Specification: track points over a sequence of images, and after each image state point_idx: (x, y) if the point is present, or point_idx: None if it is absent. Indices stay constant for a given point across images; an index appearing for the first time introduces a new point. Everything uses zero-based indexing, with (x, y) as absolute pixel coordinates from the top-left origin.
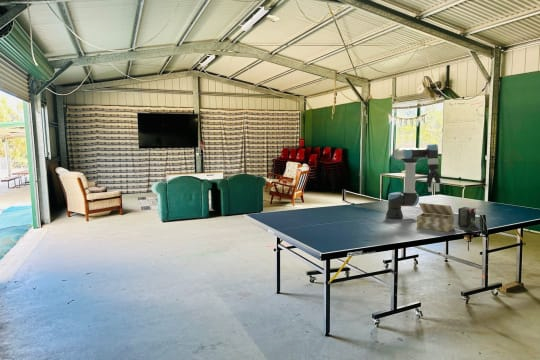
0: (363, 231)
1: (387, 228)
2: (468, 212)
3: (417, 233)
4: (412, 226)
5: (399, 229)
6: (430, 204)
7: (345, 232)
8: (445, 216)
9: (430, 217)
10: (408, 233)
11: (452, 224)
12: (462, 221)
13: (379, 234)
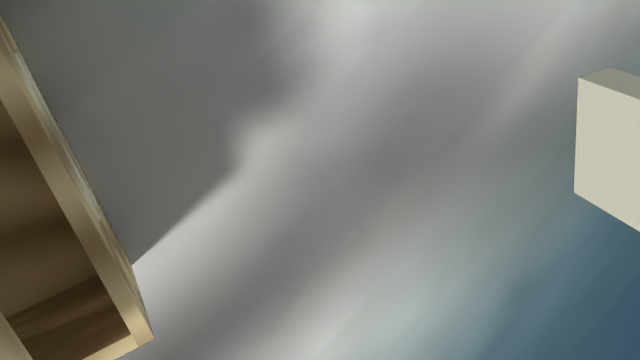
0: (554, 305)
1: (379, 325)
2: None
3: (323, 75)
4: None
5: (332, 263)
6: (5, 339)
7: (630, 319)
8: None
9: (72, 181)
10: (383, 116)
11: None
12: None
13: (549, 195)
